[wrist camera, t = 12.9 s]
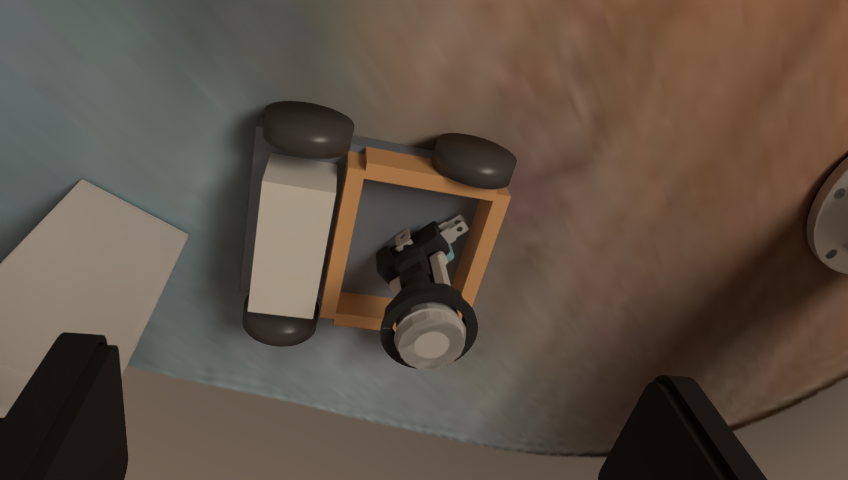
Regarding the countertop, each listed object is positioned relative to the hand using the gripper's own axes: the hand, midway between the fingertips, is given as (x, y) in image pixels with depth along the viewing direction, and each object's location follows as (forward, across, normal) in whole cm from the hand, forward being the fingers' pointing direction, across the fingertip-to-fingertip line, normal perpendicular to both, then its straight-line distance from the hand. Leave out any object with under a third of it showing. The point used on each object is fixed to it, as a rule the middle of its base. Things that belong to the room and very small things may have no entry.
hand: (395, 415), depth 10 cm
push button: (+26, -6, +11) cm, 28 cm away
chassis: (+27, -2, +11) cm, 29 cm away
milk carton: (+27, +14, +15) cm, 34 cm away
